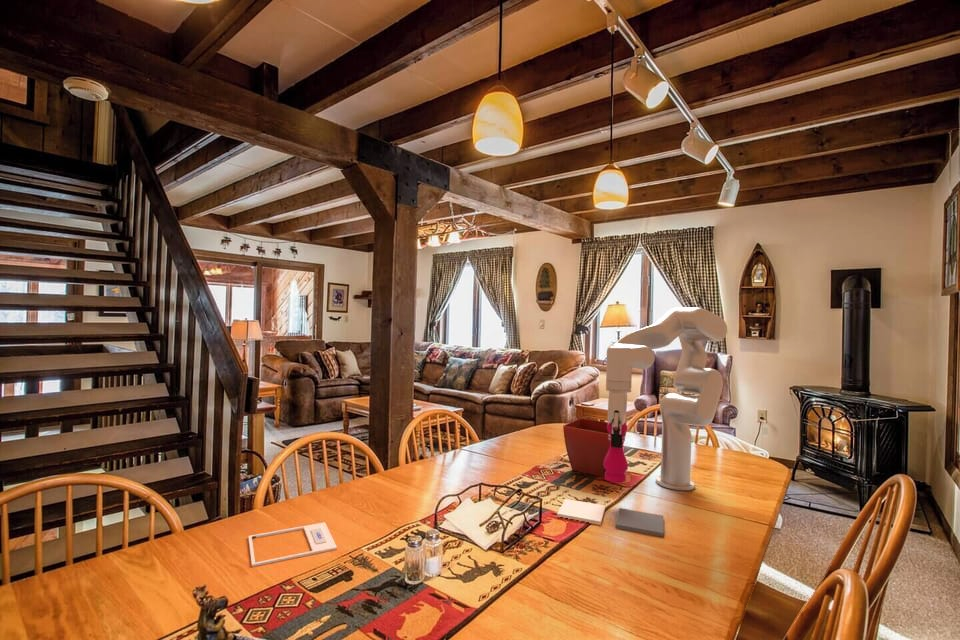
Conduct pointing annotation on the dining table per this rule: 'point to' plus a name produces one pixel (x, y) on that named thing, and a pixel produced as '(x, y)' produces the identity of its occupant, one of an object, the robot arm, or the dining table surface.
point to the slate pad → (640, 522)
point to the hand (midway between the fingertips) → (617, 443)
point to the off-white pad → (582, 511)
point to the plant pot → (587, 445)
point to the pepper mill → (616, 459)
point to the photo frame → (315, 535)
